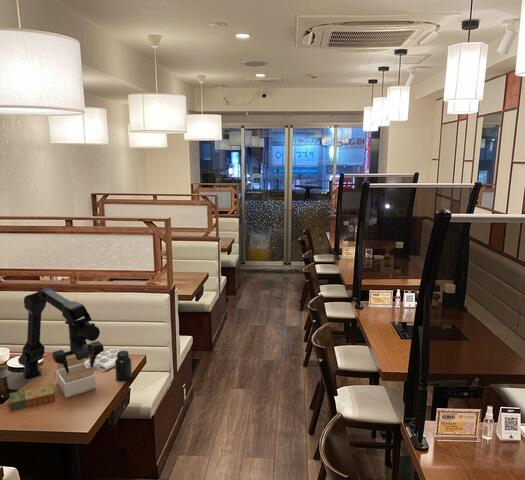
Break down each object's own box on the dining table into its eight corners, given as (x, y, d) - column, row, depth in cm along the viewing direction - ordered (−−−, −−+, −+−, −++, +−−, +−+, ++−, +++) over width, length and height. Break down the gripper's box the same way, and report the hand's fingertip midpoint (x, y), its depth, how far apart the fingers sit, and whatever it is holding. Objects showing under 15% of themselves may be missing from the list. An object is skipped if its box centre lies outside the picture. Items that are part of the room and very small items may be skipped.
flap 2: (66, 373, 188) (66, 375, 188) (94, 366, 194) (94, 367, 194) (65, 381, 191) (65, 382, 191) (93, 373, 198) (93, 374, 197)
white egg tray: (100, 375, 211) (79, 367, 218) (130, 360, 226) (109, 353, 233) (99, 368, 210) (78, 360, 218) (130, 353, 225) (109, 346, 233)
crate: (57, 383, 203) (56, 370, 202) (85, 375, 210) (84, 363, 209) (65, 397, 192) (64, 384, 191) (95, 388, 199) (94, 375, 198)
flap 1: (84, 354, 205) (84, 353, 205) (57, 361, 199) (57, 360, 199) (84, 362, 208) (83, 361, 208) (57, 369, 201) (57, 368, 202)
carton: (55, 402, 189) (54, 392, 189) (10, 412, 182) (9, 402, 181) (53, 392, 197) (52, 383, 196) (10, 402, 189) (8, 392, 188)
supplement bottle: (112, 380, 206) (110, 354, 204) (122, 373, 212) (121, 348, 210) (125, 383, 204) (123, 357, 201) (135, 376, 210) (133, 351, 207)
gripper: (57, 348, 177) (60, 386, 181) (106, 336, 188) (109, 372, 191) (50, 338, 186) (53, 374, 189) (98, 327, 197) (100, 362, 200)
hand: (80, 371), depth 192 cm, fingers open, 9 cm apart
